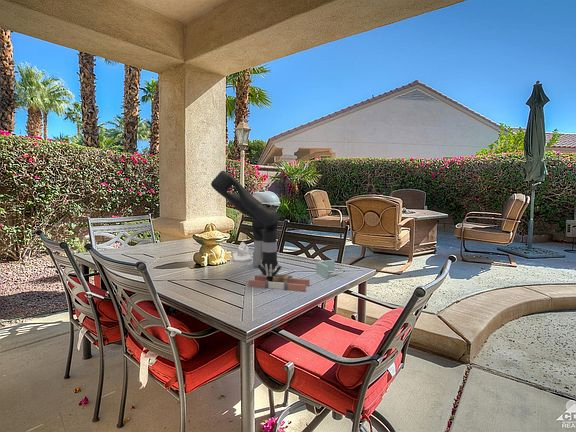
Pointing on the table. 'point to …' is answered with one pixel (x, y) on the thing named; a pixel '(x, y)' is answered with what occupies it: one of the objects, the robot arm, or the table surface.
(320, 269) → the right angle wall
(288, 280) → the walnut block
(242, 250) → the citrus juicer
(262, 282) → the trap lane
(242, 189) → the robot arm
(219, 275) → the table surface
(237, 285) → the table surface
